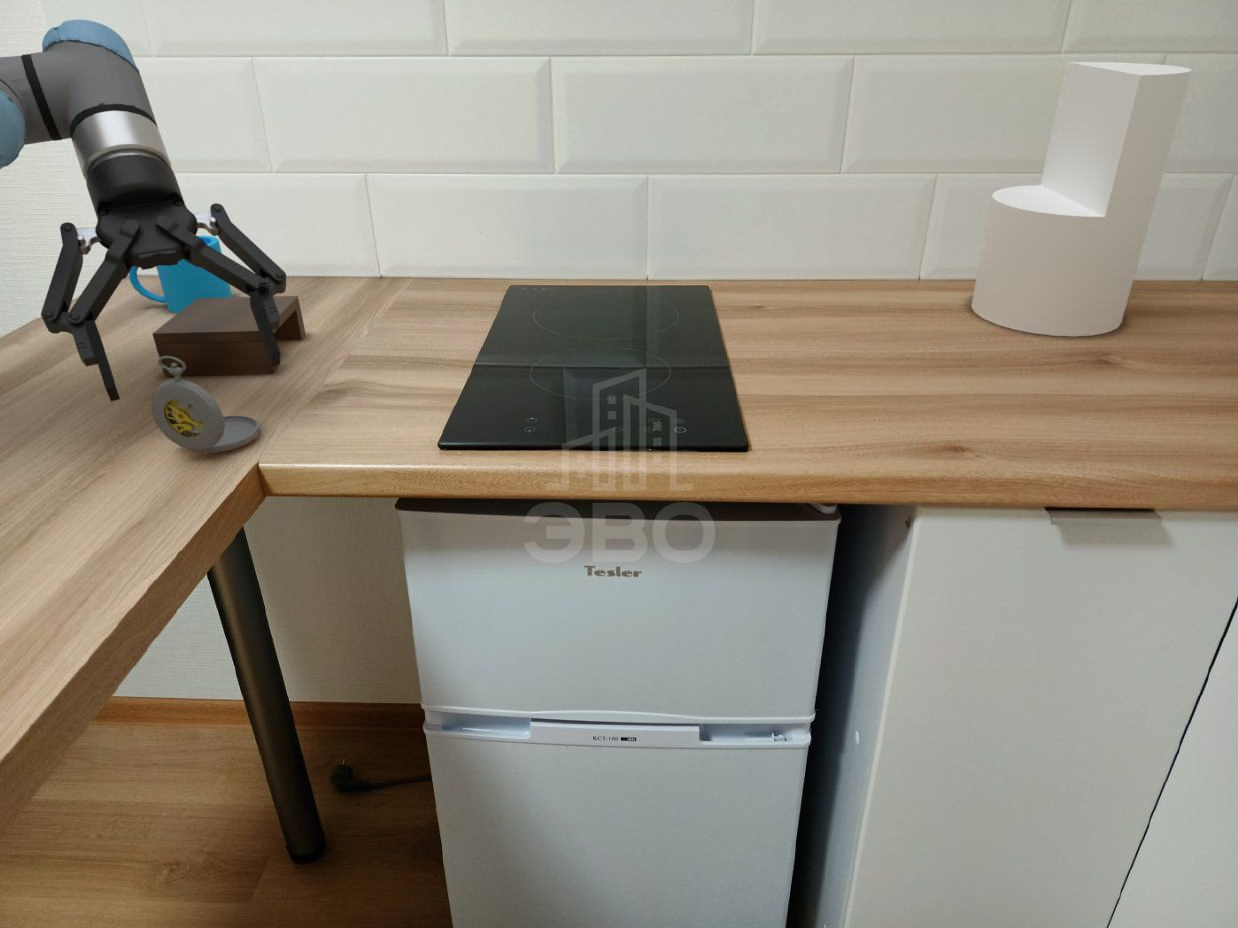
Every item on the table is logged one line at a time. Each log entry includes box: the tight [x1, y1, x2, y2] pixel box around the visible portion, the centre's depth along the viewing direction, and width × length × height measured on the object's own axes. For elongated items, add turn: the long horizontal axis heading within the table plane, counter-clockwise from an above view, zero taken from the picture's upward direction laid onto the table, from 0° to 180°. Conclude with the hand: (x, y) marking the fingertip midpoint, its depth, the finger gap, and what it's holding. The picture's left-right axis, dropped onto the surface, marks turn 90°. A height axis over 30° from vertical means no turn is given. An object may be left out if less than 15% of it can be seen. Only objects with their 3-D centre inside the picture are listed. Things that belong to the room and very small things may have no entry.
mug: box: [128, 235, 233, 314], centre depth 114 cm, size 12×8×8 cm
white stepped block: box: [970, 61, 1193, 337], centre depth 101 cm, size 17×17×28 cm
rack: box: [152, 295, 307, 377], centre depth 99 cm, size 12×12×5 cm
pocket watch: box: [150, 356, 260, 454], centre depth 77 cm, size 8×8×10 cm
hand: (198, 376), depth 77 cm, fingers open, 13 cm apart
